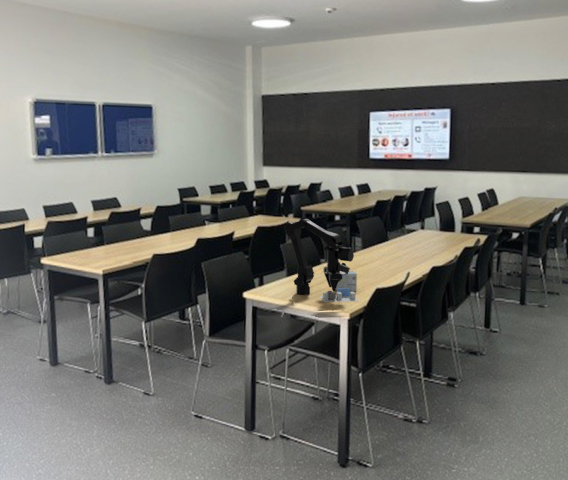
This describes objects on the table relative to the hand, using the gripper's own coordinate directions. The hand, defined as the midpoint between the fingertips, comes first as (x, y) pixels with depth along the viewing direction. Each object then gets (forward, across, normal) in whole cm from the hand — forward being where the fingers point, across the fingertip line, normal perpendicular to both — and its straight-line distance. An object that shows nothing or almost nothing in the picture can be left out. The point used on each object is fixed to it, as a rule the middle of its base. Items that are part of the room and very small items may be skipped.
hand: (332, 289), depth 304 cm
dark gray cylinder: (+5, 0, 0) cm, 5 cm away
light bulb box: (+6, +19, -12) cm, 23 cm away
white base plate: (+6, 0, -4) cm, 7 cm away
